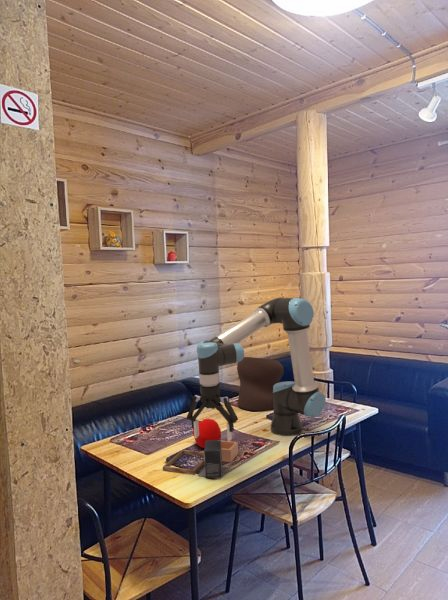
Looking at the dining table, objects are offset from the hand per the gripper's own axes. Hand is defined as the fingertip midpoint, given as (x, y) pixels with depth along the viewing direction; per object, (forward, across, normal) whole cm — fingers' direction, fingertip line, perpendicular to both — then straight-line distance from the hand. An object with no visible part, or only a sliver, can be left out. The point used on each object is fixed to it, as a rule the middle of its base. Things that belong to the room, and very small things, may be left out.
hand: (213, 438), depth 169 cm
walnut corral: (+13, +14, -4) cm, 19 cm away
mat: (+13, 0, +1) cm, 13 cm away
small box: (+13, 0, +1) cm, 13 cm away
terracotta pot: (+14, +2, -14) cm, 20 cm away
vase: (+15, +6, -88) cm, 90 cm away
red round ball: (+14, +14, -24) cm, 31 cm away
